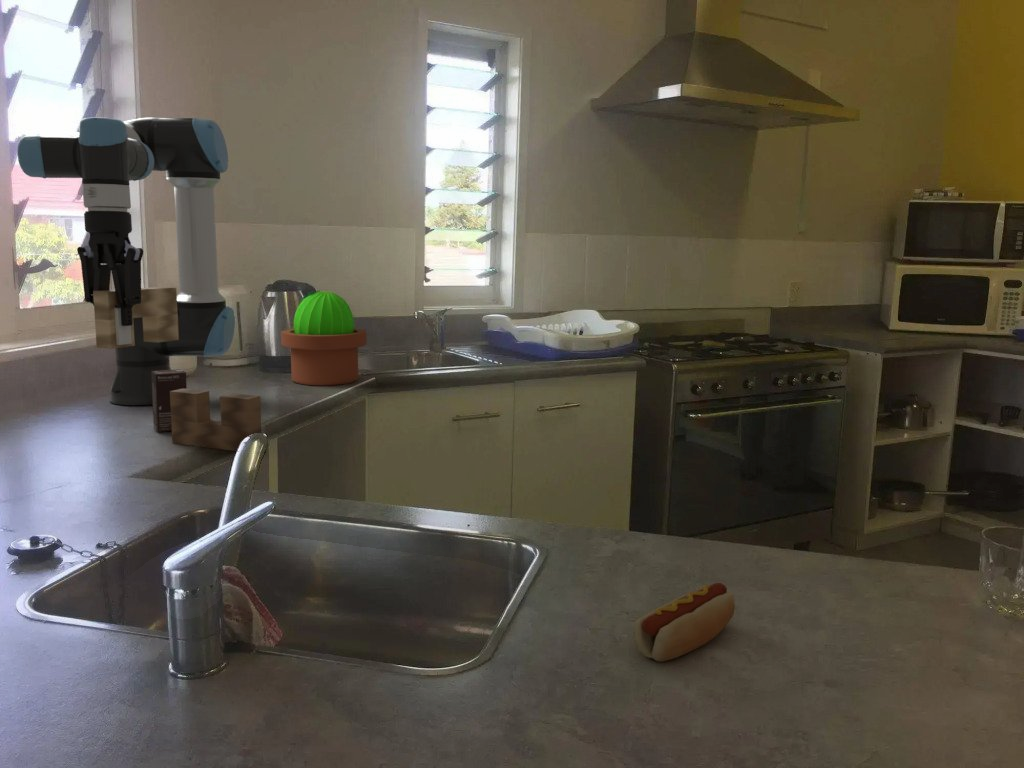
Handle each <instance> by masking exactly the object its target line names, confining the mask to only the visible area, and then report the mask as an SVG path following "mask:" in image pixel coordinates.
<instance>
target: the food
mask: <svg viewBox="0 0 1024 768" xmlns="http://www.w3.org/2000/svg"><path fill="white" fill-rule="evenodd" d="M735 607H736V605H735V597H734V593H733V592H732V591H728V588H727V586H726V585H724V584H723V583H722V582H715V583H713V584H710V585H708V584H703V585H701V586H700V587H699V588H697V589H694V590H691V591H688V592H687V593H685V594H683V595H681V596H678V597H676V598H674V599H671V601H669V602H667V603H665V604H662V605H661V606H659V607H657V608H655V609H653V610H651V611H649V612H647V613H646V614H645V615H643V616H640V617H639V618H638V619H636V621H635V622H634V625H633V635H634V642H635V643H636V646H637V648H638V650H639V652H640V653H641V654H642V655H643V656H645V657H646V658H648V659H653V660H654V661H656V662H663V663H664V662H667V661H670V660H673V659H676V658H679V657H680V656H684V655H685V654H688V653H691V652H692V651H694V650H696V649H698V648H700V647H702V646H704V645H706V644H707V643H709V642H710V641H711V640H712V639H714V638H715V637H716V636H718V635H719V634H720V633H721V632H722V630H724V629H725V627H726V626H728V624H729V623H730V621H731V620H732V619H733V616H734V614H735Z"/></svg>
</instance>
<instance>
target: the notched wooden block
mask: <svg viewBox="0 0 1024 768" xmlns="http://www.w3.org/2000/svg"><path fill="white" fill-rule="evenodd" d="M219 403H220V408H219V409H220V420H219V419H211V407H210V406H211V403H210V391H209V390H203V389H202V390H201V389H195V388H194V389H193V388H187V389H184V388H183V389H178V390H173V391H170V405H171V425H172V431H171V439H172V440H171V441H172V442H171V443H172V444H178V445H187V446H192V445H195V446H194V447H200V446H202V448H208V449H217V450H224V451H232V452H237V451H236V450H237V448H238V446H239V444H240V442H241V441H242V440H243V439H244V438H245V437H247V436H249V435H251V434H254V433H261V434H262V414H261V413H262V411H261V395H253V394H243V393H234V392H233V393H227V394H225V395H224V394H223V395H220V396H219Z"/></svg>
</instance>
